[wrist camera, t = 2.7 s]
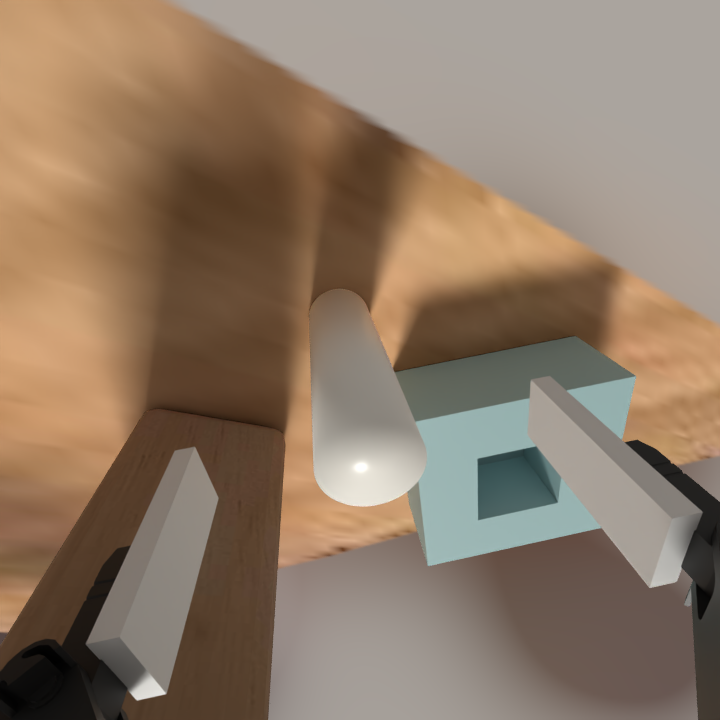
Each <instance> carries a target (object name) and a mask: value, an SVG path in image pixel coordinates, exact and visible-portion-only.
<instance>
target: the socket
mask: <svg viewBox="0 0 720 720" xmlns="http://www.w3.org/2000/svg"><path fill="white" fill-rule="evenodd" d="M395 375H396V377H397V379H398V382H399V384H400V387H401V389H402V391H403V394H404V396H405V399H406V401H407V403H408V406H409V408H410V411H411V413H412V415H413V418H414V420H415V422H416V425H417V427H418V430H419V432H420V434H421V437H422V439H423V442H424V444H425V447H426V451H427V463H426V467H425V470H424V472H423V474H422V476H421V478H420V479H419V481H418V482H417V483H416V484H415V485H414V486H413V487H412V488H411V489H410V490H409V491H408V498H409V505H410V508H411V512H412V515H413V518H414V522H415V525H416V528H417V531H418V535H419V538H420V541H421V545H422V548H423V551H424V555H425V558H426V561H427V564H428V566H431V565H435V564H440V563H444V562H449V561H453V560H458V559H462V558H466V557H471V556H476V555H480V554H484V553H489V552H494V551H498V550H502V549H507V548H512V547H516V546H521V545H525V544H529V543H534V542H539V541H543V540H548V539H552V538H557V537H561V536H565V535H570V534H575V533H580V532H584V531H589V530H593V529H597V528H601V526H600V525H599V524H598V523H597V521H596V520H595V519H594V518H593V516H592V515H591V514H590V513H589V511H588V510H587V509H586V508H585V506H584V505H583V504H582V503H581V501H580V500H579V499H578V498H577V496H576V495H575V494H574V493H573V491H572V490H571V489H570V488H569V486H568V485H567V484H566V483H565V481H564V480H563V479H562V478H561V476H560V475H559V474H558V473H557V471H556V470H555V469H554V468H553V466H552V465H551V464H550V463H549V461H548V460H547V459H546V458H545V456H544V455H543V454H542V453H541V451H540V450H539V449H538V448H537V446H536V445H535V444H534V443H533V441H532V440H531V439H530V438H529V436H528V435H527V434H528V417H529V401H530V384H531V379H536V378H541V377H546V376H551V377H552V378H553V379H554V380H555V381H556V382H557V383H558V384H560V385H561V386H562V387H563V388H564V389H565V390H566V391H567V392H569V393H570V394H571V395H572V396H573V397H574V398H575V399H576V400H578V401H579V402H580V403H581V404H582V405H583V406H584V407H585V408H586V409H588V410H589V411H590V412H591V413H592V414H593V415H594V416H595V417H597V418H598V419H599V420H600V421H601V422H602V423H603V424H604V425H606V426H607V427H608V428H609V429H610V430H611V431H612V432H613V433H615V434H616V435H617V436H618V437H619V438H620V439H621V440H622V437H623V433H624V428H625V424H626V419H627V415H628V410H629V406H630V401H631V397H632V392H633V388H634V383H635V379H636V376H635V375H634V374H632V373H631V372H629V371H628V370H626V369H625V368H623V367H622V366H620V365H619V364H617V363H616V362H614V361H613V360H611V359H610V358H608V357H607V356H605V355H604V354H602V353H601V352H599V351H598V350H596V349H595V348H593V347H592V346H590V345H589V344H587V343H586V342H584V341H583V340H581V339H580V338H578V337H577V336H572V337H567V338H562V339H557V340H552V341H547V342H542V343H537V344H532V345H527V346H522V347H517V348H512V349H507V350H502V351H498V352H493V353H488V354H483V355H478V356H473V357H468V358H463V359H458V360H453V361H448V362H443V363H438V364H433V365H428V366H423V367H418V368H413V369H408V370H403V371H398V372H395Z"/></svg>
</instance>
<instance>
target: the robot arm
mask: <svg viewBox="0 0 720 720" xmlns="http://www.w3.org/2000/svg"><path fill="white" fill-rule="evenodd" d="M527 435H528V436H529V438H530V439H531V440H532V441H533V443H534V444H535V445H536V446H537V448H538V449H539V450H540V451H541V453H542V454H543V455H544V456H545V458H546V459H547V460H548V461H549V463H550V464H551V465H552V466H553V468H554V469H555V470H556V471H557V473H558V474H559V475H560V476H561V478H562V479H563V480H564V481H565V483H566V484H567V485H568V486H569V488H570V489H571V490H572V491H573V493H574V494H575V495H576V496H577V498H578V499H579V500H580V501H581V503H582V504H583V505H584V506H585V508H586V509H587V510H588V511H589V513H590V514H591V515H592V516H593V518H594V519H595V520H596V521H597V523H598V524H599V525H600V526H601V528H602V529H603V530H604V531H605V533H606V534H607V535H608V536H609V538H610V539H611V540H612V541H613V543H614V544H615V545H616V546H617V548H618V549H619V550H620V551H621V553H622V554H623V555H624V556H625V558H626V559H627V560H628V561H629V563H630V564H631V565H632V566H633V568H634V569H635V570H636V571H637V573H638V574H639V575H640V576H641V578H642V579H643V580H644V581H645V582H646V584H647V585H648V586H649V588H651V587H655V586H660V585H664V584H668V583H674V582H677V579H678V577H679V574H680V571H681V569H682V568H683V569H684V570H685V572H686V573H687V574H688V575H689V576H690V577H691V578H692V579H693V582H692V584H691V587H690V589H689V592H688V594H687V597H686V600H685V603H684V605H686V606H690V604H691V602H692V616H693V635H694V652H695V670H696V689H697V707H698V720H720V502H719V501H718V500H717V499H715V498H714V497H713V496H712V495H710V494H709V493H708V492H707V491H705V489H703V488H702V487H701V486H700V485H699V484H697V483H696V482H695V481H694V480H692V479H691V478H690V477H689V476H688V475H686V474H683V472H682V470H680V469H679V468H678V467H677V466H676V465H674V464H671V462H670V460H668V459H667V458H666V457H665V456H664V455H662V454H661V453H660V452H659V451H658V450H656V449H655V448H653V447H651V446H649V445H647V444H645V443H642V442H640V441H638V440H634V441H629V442H624V441H622V440H621V439H620V438H619V437H618V436H617V435H616V434H615V433H613V432H612V431H611V430H610V429H609V428H608V427H607V426H606V425H604V424H603V423H602V422H601V421H600V420H599V419H598V418H597V417H595V416H594V415H593V414H592V413H591V412H590V411H589V410H588V409H586V408H585V407H584V406H583V405H582V404H581V403H580V402H579V401H578V400H576V399H575V398H574V397H573V396H572V395H571V394H570V393H569V392H567V391H566V390H565V389H564V388H563V387H562V386H561V385H560V384H558V383H557V382H556V381H555V380H554V379H553V378H552V377H551V376H546V377H541V378H536V379H531V384H530V401H529V417H528V434H527ZM218 499H219V498H218V496H217V493H216V491H215V489H214V487H213V485H212V483H211V480H210V478H209V476H208V474H207V472H206V470H205V467H204V465H203V463H202V461H201V459H200V457H199V454H198V452H197V450H196V448H195V447H191V448H186V449H181V450H176V451H174V453H173V456H172V458H171V460H170V462H169V464H168V466H167V469H166V471H165V473H164V475H163V477H162V479H161V482H160V484H159V486H158V488H157V490H156V492H155V495H154V497H153V499H152V501H151V503H150V505H149V508H148V510H147V512H146V514H145V516H144V519H143V521H142V523H141V525H140V527H139V529H138V532H137V534H136V536H135V538H134V540H133V542H132V545H131V546H126V547H121V548H117V549H116V550H115V551H114V553H113V554H112V555H111V556H110V557H109V558H108V559H107V561H106V562H105V563H104V564H103V565H102V567H101V569H100V571H99V573H98V575H97V577H96V579H95V581H94V586H92V587H91V589H90V591H89V593H88V595H87V597H86V598H87V599H86V601H84V603H83V605H82V607H81V609H80V611H79V613H78V615H77V617H76V618H75V620H74V622H73V624H72V626H71V628H70V630H69V632H68V634H67V636H66V638H65V640H64V642H63V644H62V646H61V645H60V644H59V643H58V642H57V641H56V640H54V639H43V640H40V641H37V642H34V643H32V644H31V645H29V646H27V647H26V648H24V649H22V650H21V651H20V652H19V653H17V654H16V655H15V656H14V657H13V658H12V659H11V660H10V661H8V662H7V664H6V665H5V666H4V667H3V669H2V670H1V671H0V720H129V719H128V717H127V714H126V712H125V711H124V710H123V709H122V708H121V707H122V704H123V702H124V699H125V696H126V693H127V690H128V691H129V692H130V693H131V694H132V696H133V697H134V698H135V699H136V700H142V699H146V698H151V697H155V696H160V695H164V694H167V690H168V687H169V683H170V679H171V675H172V672H173V668H174V664H175V660H176V657H177V653H178V649H179V645H180V641H181V638H182V634H183V630H184V626H185V623H186V619H187V615H188V611H189V608H190V604H191V600H192V596H193V593H194V589H195V585H196V581H197V578H198V574H199V570H200V566H201V562H202V559H203V555H204V551H205V547H206V544H207V540H208V536H209V532H210V529H211V525H212V521H213V517H214V514H215V510H216V506H217V502H218Z"/></svg>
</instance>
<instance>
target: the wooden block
mask: <svg viewBox="0 0 720 720" xmlns="http://www.w3.org/2000/svg"><path fill="white" fill-rule="evenodd" d="M191 447H195V448H196V450H197V452H198V454H199V457H200V459H201V461H202V463H203V465H204V467H205V470H206V472H207V474H208V476H209V478H210V480H211V483H212V485H213V487H214V489H215V491H216V493H217V496H218V498H219V499H218V502H217V506H216V510H215V514H214V517H213V521H212V525H211V529H210V532H209V536H208V540H207V544H206V547H205V551H204V555H203V559H202V562H201V566H200V570H199V574H198V578H197V581H196V585H195V589H194V593H193V596H192V600H191V604H190V608H189V611H188V615H187V619H186V623H185V626H184V630H183V634H182V638H181V641H180V645H179V649H178V653H177V657H176V660H175V664H174V668H173V672H172V675H171V679H170V683H169V687H168V690H167V694H164V695H160V696H155V697H151V698H146V699H142V700H136V699H135V698H134V697H133V696H132V694H131V693H130V692H129V691H128V690H127V693H126V696H125V699H124V702H123V704H122V707H121V708H122V709H123V710H124V711H125V712H126V714H127V717H128V719H129V720H268V712H269V696H270V695H269V694H270V679H271V663H272V648H273V631H274V617H275V601H276V585H277V569H278V553H279V537H280V521H281V505H282V489H283V473H284V457H285V440H284V436H283V434H282V432H281V431H279V430H277V429H275V428H269V427H263V426H258V425H252V424H246V423H240V422H234V421H228V420H223V419H217V418H211V417H205V416H199V415H193V414H188V413H182V412H176V411H170V410H164V409H152V410H149V411H147V412H145V413H144V415H143V416H142V418H141V419H140V420H139V422H138V424H137V425H136V427H135V428H134V430H133V432H132V433H131V435H130V437H129V438H128V440H127V441H126V443H125V445H124V446H123V448H122V449H121V451H120V453H119V454H118V456H117V458H116V459H115V461H114V462H113V464H112V466H111V467H110V469H109V471H108V472H107V474H106V475H105V477H104V479H103V480H102V482H101V483H100V485H99V487H98V488H97V490H96V492H95V493H94V495H93V496H92V498H91V500H90V501H89V503H88V505H87V506H86V508H85V509H84V511H83V513H82V514H81V516H80V518H79V519H78V521H77V522H76V524H75V526H74V527H73V529H72V530H71V532H70V534H69V535H68V537H67V539H66V540H65V542H64V543H63V545H62V547H61V548H60V550H59V552H58V553H57V555H56V556H55V558H54V560H53V561H52V563H51V564H50V566H49V568H48V569H47V571H46V573H45V574H44V576H43V577H42V579H41V581H40V582H39V584H38V586H37V587H36V589H35V590H34V592H33V594H32V595H31V597H30V599H29V600H28V602H27V603H26V605H25V607H24V608H23V610H22V611H21V613H20V615H19V616H18V618H17V620H16V621H15V623H14V624H13V626H12V628H11V629H10V631H9V633H8V634H7V636H6V637H5V639H4V641H3V642H2V644H1V645H0V671H1V670H2V669H3V667H4V666H5V665H6V664H7V662H8V661H10V660H11V659H12V658H13V657H14V656H15V655H16V654H17V653H19V652H20V651H21V650H22V649H24V648H26V647H27V646H29V645H31V644H32V643H34V642H37V641H40V640H43V639H54V640H56V641H57V642H58V643H59V644H60V645H61V646H62V644H63V642H64V640H65V638H66V636H67V634H68V632H69V630H70V628H71V626H72V624H73V622H74V620H75V618H76V617H77V615H78V613H79V611H80V609H81V607H82V605H83V603H84V601H86V599H87V598H86V597H87V595H88V593H89V591H90V589H91V587H92V586H94V581H95V579H96V577H97V575H98V573H99V571H100V569H101V567H102V565H103V564H104V563H105V562H106V561H107V559H108V558H109V557H110V556H111V555H112V554H113V553H114V551H115V550H116V549H117V548H121V547H126V546H131V545H132V542H133V540H134V538H135V536H136V534H137V532H138V529H139V527H140V525H141V523H142V521H143V519H144V516H145V514H146V512H147V510H148V508H149V505H150V503H151V501H152V499H153V497H154V495H155V492H156V490H157V488H158V486H159V484H160V482H161V479H162V477H163V475H164V473H165V471H166V469H167V466H168V464H169V462H170V460H171V458H172V456H173V453H174V451H176V450H181V449H186V448H191Z"/></svg>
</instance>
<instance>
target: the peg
mask: <svg viewBox="0 0 720 720" xmlns="http://www.w3.org/2000/svg"><path fill="white" fill-rule="evenodd" d="M309 338H310V369H311V401H312V432H313V463H314V475H315V479H316V481H317V484H318V485H319V487H320V488H321V489H322V491H323V492H324V493H325V494H327V495H328V496H329V497H331V498H332V499H334V500H336V501H338V502H341V503H344V504H347V505H352V506H374V505H379V504H383V503H387V502H389V501H392V500H394V499H396V498H398V497H400V496H402V495H403V494H405V493H406V492H408V491H409V490H410V489H411V488H412V487H413V486H414V485H415V484H416V483H417V482H418V481H419V479H420V478H421V476H422V474H423V472H424V470H425V467H426V463H427V451H426V447H425V444H424V442H423V439H422V437H421V434H420V432H419V430H418V427H417V425H416V422H415V420H414V418H413V415H412V413H411V411H410V408H409V406H408V403H407V401H406V399H405V396H404V394H403V391H402V389H401V387H400V384H399V382H398V379H397V377H396V375H395V372H394V370H393V367H392V365H391V363H390V360H389V358H388V355H387V353H386V351H385V348H384V346H383V343H382V341H381V339H380V336H379V334H378V331H377V329H376V327H375V324H374V322H373V320H372V317H371V315H370V312H369V310H368V308H367V305H366V303H365V302H364V300H363V299H362V298H361V297H360V296H359V295H358V294H356V293H355V292H353V291H350V290H347V289H332V290H329V291H326V292H324V293H322V294H321V295H320V296H318V297H317V298H316V300H315V301H314V302H313V304H312V306H311V308H310V312H309Z"/></svg>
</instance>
